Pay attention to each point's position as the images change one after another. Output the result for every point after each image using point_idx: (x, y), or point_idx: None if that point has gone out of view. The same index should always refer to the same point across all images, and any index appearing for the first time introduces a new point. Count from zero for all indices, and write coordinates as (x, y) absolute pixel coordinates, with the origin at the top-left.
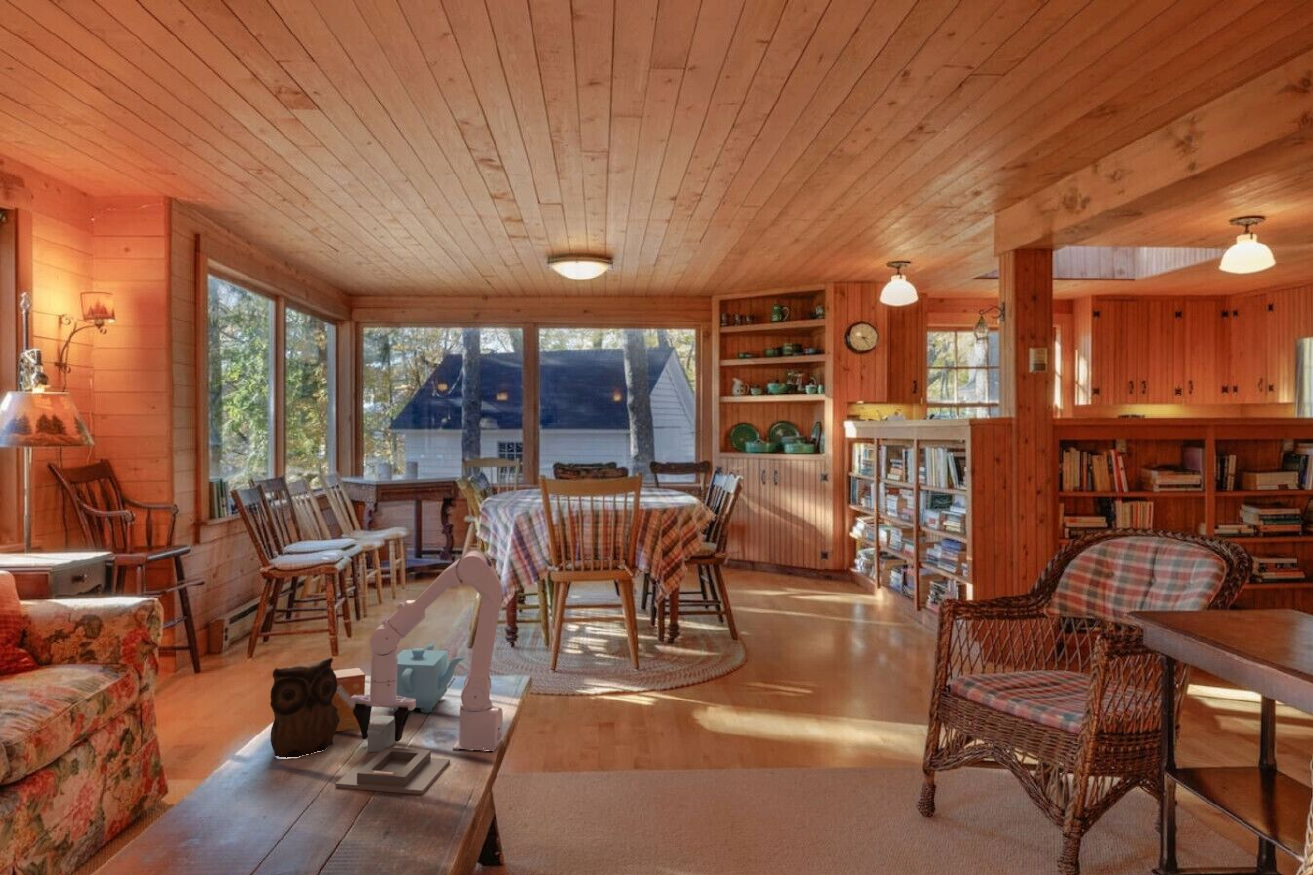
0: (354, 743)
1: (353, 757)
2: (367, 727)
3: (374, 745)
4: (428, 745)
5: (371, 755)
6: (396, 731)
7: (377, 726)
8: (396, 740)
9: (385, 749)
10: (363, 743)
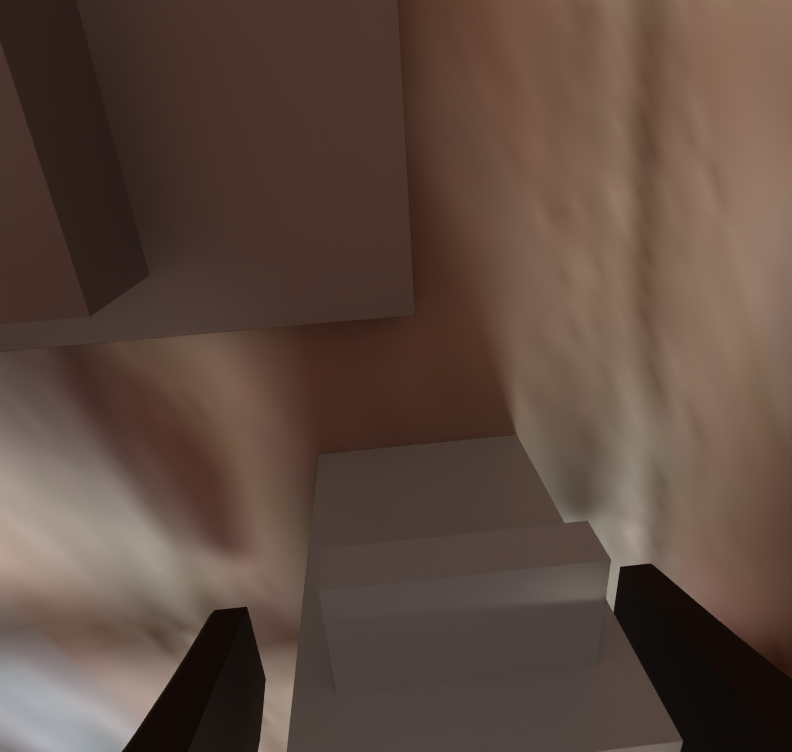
0: (710, 544)
1: (599, 223)
2: (679, 725)
3: (450, 480)
4: (15, 683)
5: (358, 242)
6: (172, 728)
7: (466, 731)
8: (224, 617)
9: (15, 199)
10: (626, 565)
